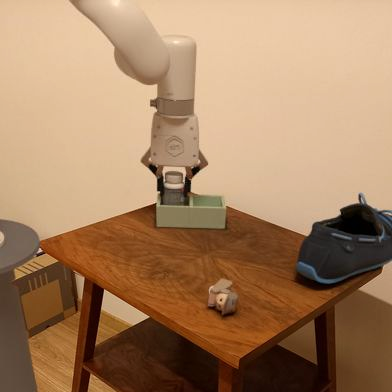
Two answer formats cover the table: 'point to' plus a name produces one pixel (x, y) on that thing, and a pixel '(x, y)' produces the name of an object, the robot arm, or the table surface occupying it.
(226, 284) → the toy character
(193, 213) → the rack
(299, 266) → the moccasin
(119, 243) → the table surface
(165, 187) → the pill bottle
